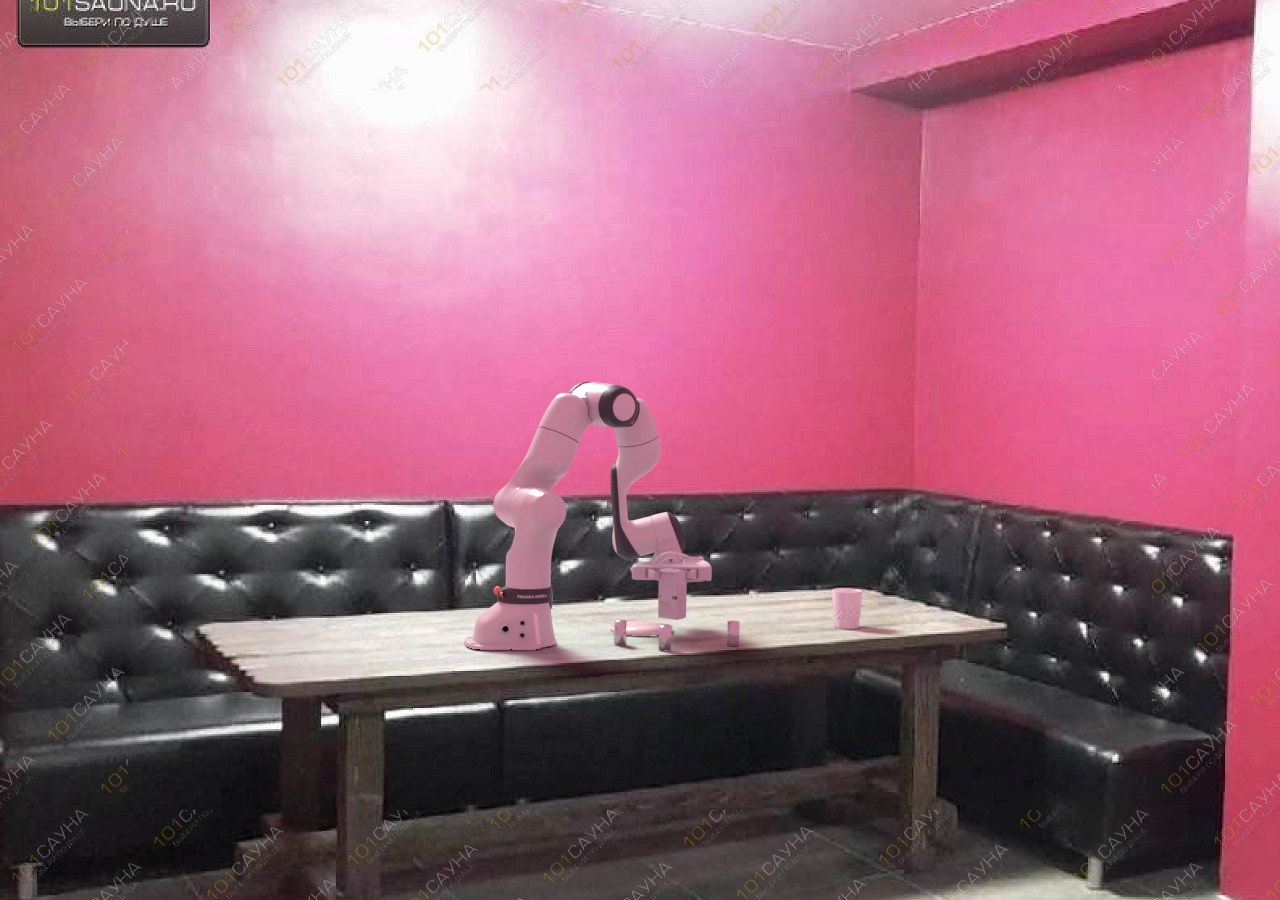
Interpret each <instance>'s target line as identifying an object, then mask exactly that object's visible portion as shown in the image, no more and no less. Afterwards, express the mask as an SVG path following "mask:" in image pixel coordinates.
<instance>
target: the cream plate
mask: <svg viewBox="0 0 1280 900" xmlns="http://www.w3.org/2000/svg"><path fill="white" fill-rule="evenodd" d="M662 624H667V625H669V624H668V623H664V622H659V621H650V620H649V621H645V620H643V621H642V620H632V621H631V620H630V621H627V626H626V635H635V636H651V635H659V625H662ZM611 631H612V632H614V623H613V624H611V625H610V632H611ZM612 632H611V633H612ZM671 632H672V633H673V626H672V625H671Z"/></svg>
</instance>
